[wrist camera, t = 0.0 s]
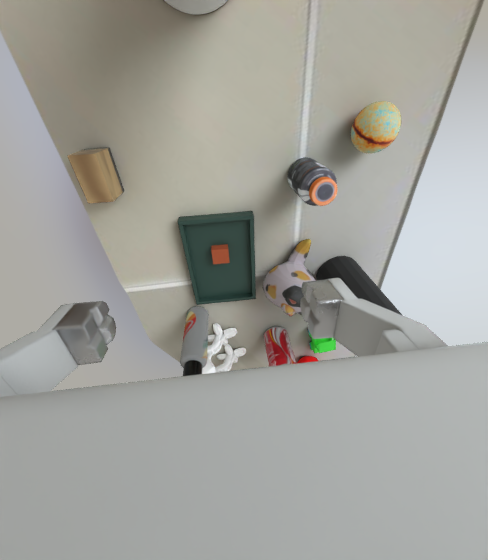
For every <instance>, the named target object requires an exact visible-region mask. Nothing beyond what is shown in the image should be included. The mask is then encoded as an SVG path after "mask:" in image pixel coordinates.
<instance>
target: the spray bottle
mask: <svg viewBox="0 0 488 560" xmlns="http://www.w3.org/2000/svg"><path fill="white" fill-rule="evenodd" d="M207 346H208V311H207V310H206V309H205V308H203V307H199V306H196V307H192V308H190V309H189V310H188V312H187V316H186V323H185V330H184V337H183V344H182V352H181V359H180V364H181V366H182V367H183V368H184V371H183V376H190V375H199V374H202V368H204V367H205V366H206V364H207Z"/></svg>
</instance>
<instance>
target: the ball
mask: <svg viewBox="0 0 488 560" xmlns="http://www.w3.org/2000/svg"><path fill="white" fill-rule="evenodd" d="M400 126H401V115H400V112H399V110H398V108H397V107H396V106H395V105H393V104H392V103H390V102H386V101H379V102H375V103H372V104H370V105H368V106H367V107H365V108H364V109H363V110H362V111H361V112H360V113H359V114H358V115H357V117H356V118H355V120H354V122H353V125H352V129H351V139H352V142H353V144H354V146H355V147H356V148H357V149H358V150H359V151H361V152H363V153H376V152H379V151H381V150H383V149H385V148H386V147H388V146H389V145H390V144H391V143H392V142H393V141H394V139H395V138H396V136H397V135H398V133H399V130H400Z"/></svg>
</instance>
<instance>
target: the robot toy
mask: <svg viewBox="0 0 488 560" xmlns="http://www.w3.org/2000/svg"><path fill="white" fill-rule="evenodd" d="M213 330H214V333H215V335H208V342H212V341H213V343H212V345H210V346H207V364H206V366H205V367H204V368H202V374H208V373H216V372H225V371H229V370H230V369H231V367H232V363H237V361H238V357H240V356H243V355H244V354H245V353H246V349H245V348H238V349H235V350H232V347H231V346H230V345H229V344H228V340H227V339H228V338H231V337H233V336H235V335H236V334H237V330H236V328H229V329H226V330H224V331H222V329H221V327H220V325H219V324H217V323H215V324H213ZM223 332H224V334H223ZM222 345H225V347H224V350H225V352H226V353H225V354H218V355H217V356H216V357H217V358H218V359H219V360H225V361H224V364H222V365H218V366H217V367H215V366H214V365H213V363H212V362H211V357H212V356H213V355H215V354H216V353H217V352H218V351H220V349H221V346H222ZM233 351H234V353H235V354H234V353H233Z"/></svg>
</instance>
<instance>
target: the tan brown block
mask: <svg viewBox="0 0 488 560" xmlns="http://www.w3.org/2000/svg"><path fill="white" fill-rule="evenodd" d="M68 159H69V161H70V163H71V165H72V168H73V170H74V172H75V174H76V177H77V179H78V181H79V183H80V186H81V188H82V190H83V192H84V195H85V197H86V199H87V201H88V203H101V202H113V201H114V200H115V199H116V198H117V197H118V196H120V195H121V194H122V193H123V191H124V189H123V186H122V183H121V180H120V177H119V174H118V172H117V169H116V166H115V163H114V160H113V157H112V154H111V151H110V148H96V149H84V150H81V151H79V152H76V153H73V154H70V155H68Z"/></svg>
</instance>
